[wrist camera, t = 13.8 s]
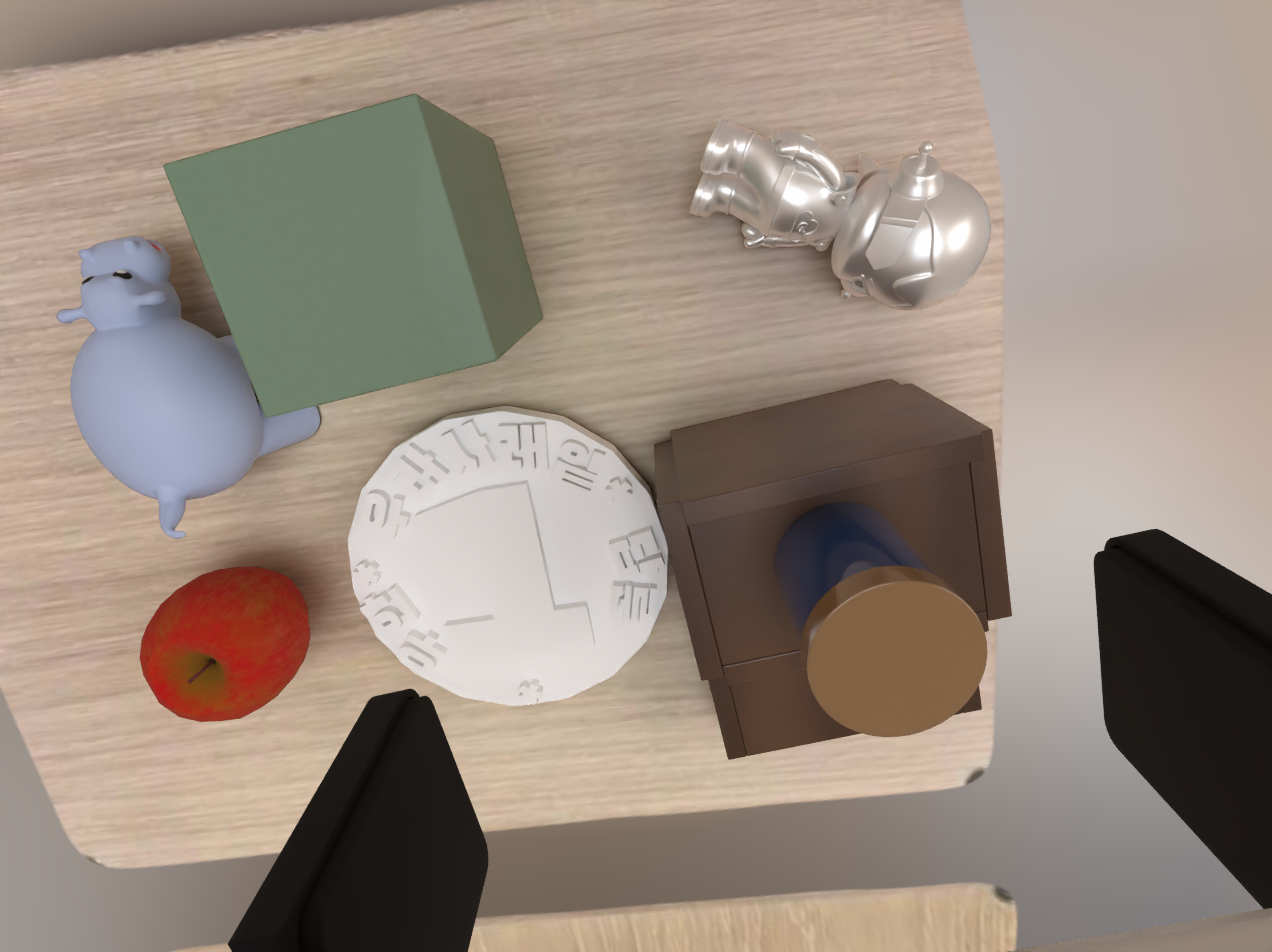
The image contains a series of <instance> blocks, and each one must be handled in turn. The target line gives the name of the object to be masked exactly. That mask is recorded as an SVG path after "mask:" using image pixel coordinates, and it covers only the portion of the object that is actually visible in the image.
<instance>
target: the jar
mask: <svg viewBox="0 0 1272 952" xmlns="http://www.w3.org/2000/svg"><path fill="white" fill-rule="evenodd" d="M774 573H775V579H776V582H777V586H778V588H779V591H780V593H781V596H782V599H783V601H784V604H785V607H786V609H787V612H788V615H789V617H790V620H791V623H792V625H793V628H794V630H795V633H796V636H797V638H798V641H799V644H800V646H801V659H802V664H803V668H804V671H805V674H806V677H807V679H808V682H809V685H810V687H811V690H812V692H813V694H814V696H815V698H816V700H817V701H818V703H819V705H820V706H821V707H822V708H823V709H824V711H825V712H826V713H827V714H828V715H829V716H831V717H832V718H833V719H834V720H835V721H837V722H839V723H840V724H842V725H843V726H845V727H847V728H849V729H851V730H854V731H856V732H860V733H863V734H867V735H872V736H880V737H899V736H906V735H911V734H915V733H919V732H922V731H925V730H927V729H930V728H932V727H934V726H936V725H938V724H940V723H942V722H944V721H945V720H947V719H948V718H950V717H951V716H952V715H954V714H955V713H956V712H957V711H959V710H960V709H961V708H962V707H963V706H964V705H965V704H966V703H967V702H968V700H969V699H970V698H971V696H972V695H973V694H974V692H975V690H976V689H977V687H978V685H979V683H980V681H981V679H982V676H983V674H984V670H985V666H986V660H987V641H986V636H985V632H984V629H983V627H982V624H981V622H980V620H979V618H978V616H977V615H976V613H975V612H974V611H973V609H972V608H971V607H970V606H969V604H968V603H967V602H966V601H965V600H964V599H963V598H962V596H961V595H960V594H959V593H958V592H957V591H956V590H955V589H954V588H953V587H952V586H951V585H950V584H949V583H947V582H946V581H945V580H943V579H942V578H940V577H938V576H937V575H936V574H935V573H934V572H933V571H932V569H931V568H930V567H929V566H928V565H927V563H926V562H925V561H924V560H923V559H922V558H921V556H920V555H919V554H918V553H917V552H916V550H915V549H914V548H913V547H912V546H911V545H910V543H909V542H908V541H907V540H906V539H905V538H904V536H903V535H902V534H901V533H900V532H899V530H898V529H897V528H896V527H895V526H894V525H893V523H892V522H891V521H890V520H889V519H888V518H887V517H886V516H884V515H883V514H881V513H880V512H879V511H877V510H875V509H873V508H871V507H868V506H865V505H861V504H857V503H847V502H843V503H833V504H827V505H824V506H821V507H818V508H816V509H813V510H811V511H809V512H808V513H806V514H804V515H803V516H801V517H800V518H799V519H797V520H796V521H795V522H794V523H793V524H792V525H791V526H790V527H789V529H788V530H787V531H786V532H785V534H784V535H783V537H782V539H781V541H780V543H779V545H778V547H777V551H776V554H775V560H774Z"/></svg>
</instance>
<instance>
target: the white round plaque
mask: <svg viewBox="0 0 1272 952" xmlns="http://www.w3.org/2000/svg"><path fill="white" fill-rule="evenodd" d="M348 549H349V557H350V566H351V575H352V584H353V591H354V593H355V595H356V597H357V599H358V601H359V603H360V605H361V606H360V608H359V610H360V611H361V612H362V613H363V615H364V616H365V617H367V619H368V621H369V623H370V625H371V627H372V628H373V630H374V632H375V634H376V636H377V638H378V639H379V640H380V641H381V642H382V643H383V644H384V645H385V646H387V647H388V648H389V649H390V650H391V651H392V652H393V653H394V654H395V655H396V656H397V658H398V660H399V662H401V663H402V664H403V665H405V666H407V667H408V668H409V669H410V670H411V671H412V672H414V673H415V674H416V675H418V676H420V677H422V678H424V679H426V680H428V681H430V682H432V683H434V684H436V685H438V686H440V687H442V688H444V689H446V690H448V691H450V692H452V693H454V694H456V695H459V696H461V697H463V698H468V699H474V700H481V701H487V702H493V703H499V704H505V705H511V706H520V705H527V704H529V705H533V704H538V703H541V702H549V701H556V700H563V699H567V698H569V697H572V696H574V695H576V694H578V693H580V692H582V691H584V690H586V689H588V688H590V687H592V686H594V685H596V684H598V683H600V682H602V681H604V680H606V679H608V678H611V677H612V676H613V675H614V674H615V673H616V672H617V671H618V670H619V669H620V668H621V667H622V666H623V665H624V664H625V663H626V662H627V661H628V660H629V659H630V658H631V657H632V656H633V655H634V654H635V653H636V652H637V651H638V650H639V649H640V648H641V647H642V646H643V645H644V644H645V643H646V642H647V640H648V637H649V635H650V633H651V630H652V628H653V626H654V623H655V621H656V619H657V616H658V614H659V612H660V610H661V607H662V605H663V603H664V600H665V598H666V596H667V559H668V547H667V543H666V539H665V535H664V531H663V527H662V523H661V519H660V515H659V512H658V509H657V506H656V504H655V501H654V498H653V495H652V493H651V490H650V487H649V486H648V484H647V483H646V482H645V481H644V480H643V479H642V478H641V476H640V475H639V474H638V473H637V472H636V471H635V469H634V468H633V467H632V466H631V465H630V464H629V462H628V461H627V460H626V459H625V458H624V457H623V455H622V454H621V453H620V452H619V451H618V450H617V448H616V447H615V446H614V445H613V444H611V443H610V442H608V441H606V440H604V439H603V438H601V437H599V436H597V435H596V434H594V433H592V432H590V431H589V430H587V429H585V428H583V427H582V426H580V425H578V424H576V423H575V422H573V421H571V420H569V419H568V418H566V417H564V416H560V415H555V414H550V413H544V412H539V411H533V410H528V409H522V408H517V407H512V406H499V407H493V408H487V409H481V410H475V411H468V412H462V413H456V414H450V415H448V416H446V417H444V418H443V419H441V420H439V421H437V422H436V423H434V424H432V425H430V426H429V427H427V428H425V429H423V430H422V431H420V432H418V433H416V434H415V435H413V436H411V437H409V438H408V439H406V440H404V441H402V442H401V443H400V444H399V445H398V446H397V447H395V448H394V450H393V451H392V452H391V453H390V455H389V456H388V457H387V459H386V460H385V461H384V462H383V464H382V465H381V466H380V467H379V469H378V470H377V471H376V472H375V474H374V475H373V476H372V478H371V479H370V480H369V481H368V483H367V484H366V485H365V486H364V488H363V489H362V490H361V494H360V497H359V501H358V504H357V508H356V512H355V515H354V519H353V522H352V526H351V529H350V533H349V537H348Z"/></svg>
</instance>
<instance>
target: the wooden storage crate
mask: <svg viewBox="0 0 1272 952" xmlns="http://www.w3.org/2000/svg"><path fill="white" fill-rule="evenodd" d="M671 437H672V440H671V441H666V442H662V443H658V444H654V455H655V473H656V492H657V507H658V511H659V515H660V519H661V523H662V527H663V531H664V535H665V539H666V543H667V547H668V551H669V555H670V559H671V562H672V566H673V570H674V574H675V578H676V582H677V586H678V590H679V594H680V598H681V602H682V606H683V610H684V614H685V618H686V621H687V625H688V629H689V633H690V637H691V641H692V645H693V649H694V653H695V657H696V661H697V665H698V669H699V673H700V677H701V680H702V681H703V680H708V681H709V685H710V689H711V693H712V697H713V701H714V705H715V709H716V713H717V717H718V721H719V725H720V729H721V733H722V737H723V741H724V745H725V749H726V753H727V757H728V759H729V760H730V759H735V758H740V757H745V756H746V755H747V756H750V755H755V754H760V753H765V752H770V751H775V750H780V749H785V748H790V747H795V746H800V745H805V744H810V743H815V742H820V741H825V740H830V739H835V738H840V737H845V736H851V735H856V734H861V733H860V732H856V731H854V730H851V729H849V728H847V727H845V726H843V725H842V724H840V723H839V722H837V721H835V720H834V719H833V718H832V717H831V716H829V715H828V714H827V713H826V712H825V711H824V709H823V708H822V707H821V706H820V705H819V703H818V701H817V700H816V698H815V696H814V694H813V692H812V690H811V687H810V685H809V682H808V679H807V677H806V674H805V671H804V668H803V664H802V659H801V646H800V644H799V641H798V638H797V636H796V633H795V630H794V628H793V625H792V623H791V620H790V617H789V615H788V612H787V609H786V607H785V604H784V601H783V599H782V596H781V593H780V591H779V588H778V586H777V582H776V579H775V573H774V560H775V554H776V551H777V547H778V545H779V543H780V541H781V539H782V537H783V535H784V534H785V532H786V531H787V530H788V529H789V527H790V526H791V525H792V524H793V523H794V522H795V521H796V520H797V519H799V518H800V517H801V516H803V515H804V514H806V513H808V512H809V511H811V510H813V509H816V508H818V507H821V506H824V505H827V504H833V503H843V502H847V503H857V504H861V505H865V506H868V507H871V508H873V509H875V510H877V511H879V512H880V513H881V514H883V515H884V516H886V517H887V518H888V519H889V520H890V521H891V522H892V523H893V525H894V526H895V527H896V528H897V529H898V530H899V532H900V533H901V534H902V535H903V536H904V538H905V539H906V540H907V541H908V542H909V543H910V545H911V546H912V547H913V548H914V549H915V550H916V552H917V553H918V554H919V555H920V556H921V558H922V559H923V560H924V561H925V562H926V563H927V565H928V566H929V567H930V568H931V569H932V571H933V572H934V573H935V574H936V575H937V576H938V577H940V578H942V579H943V580H945V581H946V582H947V583H949V584H950V585H951V586H952V587H953V588H954V589H955V590H956V591H957V592H958V593H959V594H960V595H961V596H962V598H963V599H964V600H965V601H966V602H967V603H968V604H969V606H970V607H971V608H972V609H973V611H974V612H975V613H976V615H977V616H978V618H979V620H980V622H981V624H982V627H983V629H984V632H987V631H989V628H988V621H990V620H995V619H1000V618H1005V617H1009V616H1012V612H1011V602H1010V594H1009V584H1008V574H1007V565H1006V556H1005V546H1004V538H1003V537H1004V536H1003V527H1002V518H1001V508H1000V499H999V489H998V480H997V470H996V461H995V452H994V442H993V433H992V429H990V428H989V427H987V426H985V425H983V424H982V423H980V422H978V421H976V420H975V419H973V418H971V417H969V416H968V415H966V414H964V413H963V412H961V411H959V410H957V409H956V408H954V407H952V406H950V405H949V404H947V403H945V402H943V401H942V400H940V399H938V398H936V397H935V396H933V395H931V394H929V393H928V392H926V391H924V390H923V389H921V388H919V387H917V386H916V385H914V384H908V385H904V386H902V385H900V384H899V383H897V382H896V381H894V380H892V379H888V380H883V381H879V382H875V383H871V384H866V385H862V386H858V387H854V388H850V389H845V390H841V391H837V392H833V393H828V394H824V395H820V396H816V397H812V398H807V399H803V400H799V401H795V402H790V403H786V404H782V405H778V406H774V407H769V408H765V409H761V410H757V411H752V412H748V413H744V414H740V415H736V416H731V417H727V418H723V419H719V420H714V421H710V422H706V423H702V424H698V425H693V426H689V427H685V428H681V429H676V430H672V431H671ZM981 709H982V706H981V698H980V690H979V685H978V687H977V689H976V690H975V692H974V694H973V695H972V696H971V698H970V699H969V700H968V702H967V703H966V704H965V705H964V706H963V707H962V708H961V709H960V710H959V711H957V712H956V713H955V714H954V715H956V714H961V713H962V712H963V713H966V712H971V711H976V710H981Z"/></svg>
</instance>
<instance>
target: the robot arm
mask: <svg viewBox="0 0 1272 952" xmlns="http://www.w3.org/2000/svg"><path fill="white" fill-rule="evenodd" d="M1094 575H1095V588H1096V604H1097V618H1098V634H1099V649H1100V662H1101V677H1102V693H1103V707H1104V720H1105V725H1106V728H1107V731H1108V733H1109V736H1110V738H1111V739H1112V741H1113V743H1114V744H1115V745H1116V747H1117V748H1118V750H1119V751H1120V752H1121V753H1122V754H1123V755H1124V756H1125V757H1126V758H1127V760H1128V761H1129V762H1130V763H1131V764H1132V765H1133V766H1134V767H1135V768H1136V769H1137V771H1139V773H1140V774H1141V775H1142V776H1143V777H1144V778H1145V779H1146V780H1147V781H1148V782H1149V784H1150V785H1151V786H1152V787H1153V788H1154V789H1155V790H1156V791H1157V792H1158V793H1159V795H1160V796H1161V797H1162V798H1163V799H1164V800H1165V801H1166V802H1167V803H1168V804H1169V806H1171V808H1172V809H1173V810H1174V811H1175V812H1176V813H1177V814H1178V815H1179V817H1181V819H1182V820H1183V821H1184V822H1185V823H1186V824H1187V825H1188V826H1189V827H1190V828H1191V830H1192V831H1193V832H1194V833H1195V834H1196V835H1197V836H1198V837H1199V838H1200V839H1201V841H1202V842H1203V843H1204V844H1205V845H1206V846H1207V847H1208V848H1209V849H1210V851H1211V852H1212V853H1213V854H1214V855H1215V856H1216V857H1217V858H1218V859H1219V860H1220V861H1221V863H1222V864H1223V865H1224V866H1225V867H1226V868H1227V869H1228V870H1229V871H1230V872H1231V873H1232V875H1234V877H1235V878H1236V879H1237V880H1238V881H1239V882H1240V883H1241V884H1242V885H1243V887H1245V889H1246V890H1247V891H1248V892H1249V893H1250V894H1251V895H1252V896H1253V898H1254V899H1255V900H1256V901H1257V902H1258V903H1259V904H1260V905H1261V906H1262V907H1263V909H1262V910H1255V911H1249V912H1242V913H1236V914H1230V915H1224V916H1218V917H1213V918H1206V919H1200V920H1194V921H1188V922H1183V923H1176V924H1170V925H1165V926H1158V927H1152V928H1146V929H1140V930H1134V931H1128V932H1122V933H1117V934H1110V935H1104V936H1098V937H1092V938H1086V939H1080V940H1074V941H1068V942H1062V943H1056V944H1050V945H1044V946H1038V947H1033V948H1026V949H1020V950H1014V951H1008V952H1272V594H1270V593H1268V592H1267V591H1265V590H1263V589H1261V588H1260V587H1258V586H1256V585H1255V584H1253V583H1251V582H1249V581H1248V580H1246V579H1244V578H1243V577H1241V576H1239V575H1237V574H1236V573H1234V572H1232V571H1231V570H1229V569H1227V568H1225V567H1224V566H1222V565H1220V564H1219V563H1217V562H1215V561H1213V560H1211V559H1210V558H1208V557H1206V556H1205V555H1203V554H1201V553H1200V552H1198V551H1196V550H1195V549H1193V548H1191V547H1189V546H1188V545H1186V544H1184V543H1182V542H1181V541H1179V540H1177V539H1175V538H1174V537H1172V536H1170V535H1169V534H1167V533H1165V532H1164V531H1161V530H1158V529H1151V530H1147V531H1142V532H1138V533H1133V534H1128V535H1124V536H1119V537H1114V538H1110V539H1109V540H1108V541H1107V542H1106V545H1105V548H1104V551H1101V552H1098V553H1097V554H1096V555H1095V558H1094ZM487 869H488V850H487V844H486V841H485V838H484V835H483V832H482V830H481V827H480V825H479V822H478V819H477V817H476V814H475V812H474V809H473V806H472V804H471V801H470V799H469V796H468V793H467V791H466V788H465V786H464V783H463V780H462V778H461V775H460V773H459V770H458V767H457V765H456V762H455V760H454V757H453V754H452V752H451V749H450V746H449V744H448V741H447V739H446V736H445V733H444V731H443V728H442V726H441V723H440V720H439V718H438V715H437V713H436V710H435V707H434V705H433V703H432V701H431V699H430V698H429V697H427V696H422V697H419V695H418V694H417V692H416V691H415V690H413V689H407V690H402V691H397V692H393V693H388V694H383V695H379V696H375V697H372V698H371V699H370V700H369V701H368V703H367V704H366V706H365V708H364V710H363V711H362V713H361V715H360V717H359V718H358V720H357V722H356V723H355V725H354V727H353V729H352V730H351V732H350V734H349V736H348V737H347V739H346V741H345V742H344V744H343V746H342V748H341V749H340V751H339V753H338V755H337V756H336V758H335V760H334V761H333V763H332V765H331V767H330V768H329V770H328V772H327V774H326V775H325V777H324V779H323V780H322V782H321V784H320V786H319V787H318V789H317V791H316V793H315V794H314V796H313V798H312V799H311V801H310V803H309V805H308V806H307V808H306V810H305V812H304V813H303V815H302V817H301V818H300V820H299V822H298V824H297V825H296V827H295V829H294V831H293V832H292V834H291V836H290V837H289V839H288V841H287V843H286V844H285V846H284V848H283V850H282V851H281V853H280V855H279V856H278V858H277V860H276V862H275V863H274V865H273V867H272V869H271V870H270V872H269V874H268V875H267V877H266V879H265V881H264V882H263V884H262V886H261V888H260V889H259V891H258V893H257V895H256V896H255V898H254V900H253V901H252V903H251V905H250V907H249V908H248V910H247V912H246V913H245V915H244V917H243V919H242V920H241V922H240V924H239V926H238V927H237V929H236V931H235V933H234V934H233V936H232V938H231V939H230V941H229V943H228V945H229V947H230V949H231V951H232V952H468V948H469V944H470V940H471V936H472V932H473V927H474V923H475V919H476V915H477V911H478V906H479V903H480V898H481V894H482V890H483V886H484V881H485V878H486V873H487Z"/></svg>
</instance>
